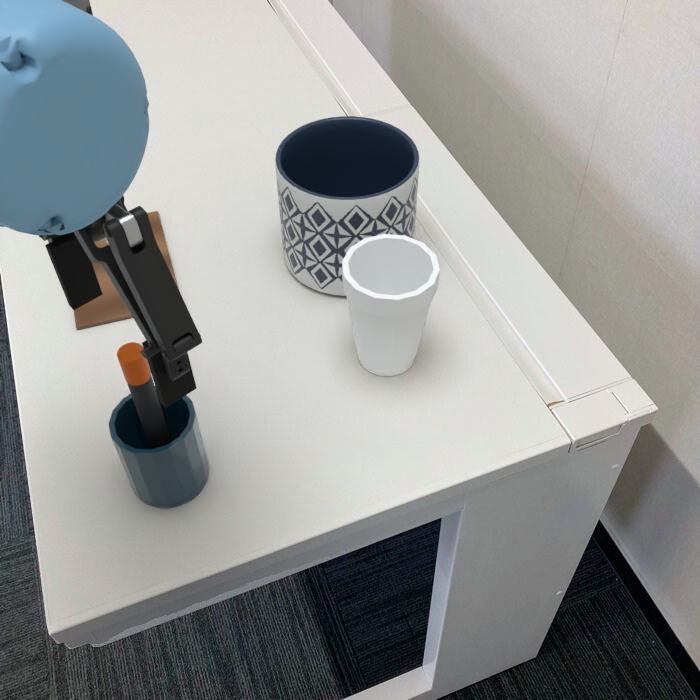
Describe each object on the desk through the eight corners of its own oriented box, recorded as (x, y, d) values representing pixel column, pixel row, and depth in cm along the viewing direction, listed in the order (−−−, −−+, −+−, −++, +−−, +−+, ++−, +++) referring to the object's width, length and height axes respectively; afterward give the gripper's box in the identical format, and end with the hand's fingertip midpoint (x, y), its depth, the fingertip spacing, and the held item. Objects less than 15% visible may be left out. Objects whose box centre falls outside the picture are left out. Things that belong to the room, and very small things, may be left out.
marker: (165, 483, 73) (125, 366, 60) (153, 469, 74) (111, 351, 61) (184, 470, 73) (148, 352, 61) (172, 456, 75) (134, 337, 62)
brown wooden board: (182, 306, 89) (182, 303, 89) (77, 330, 87) (75, 327, 87) (158, 213, 101) (157, 210, 100) (64, 232, 98) (63, 229, 98)
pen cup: (159, 523, 71) (138, 469, 64) (117, 472, 74) (93, 416, 68) (224, 476, 74) (211, 420, 67) (181, 430, 78) (164, 372, 71)
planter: (413, 216, 100) (420, 117, 89) (412, 302, 90) (419, 202, 79) (291, 211, 101) (283, 113, 90) (276, 296, 90) (265, 197, 80)
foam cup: (411, 315, 88) (418, 226, 78) (443, 374, 82) (455, 285, 73) (332, 335, 86) (329, 246, 76) (359, 396, 80) (359, 308, 71)
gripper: (228, 167, 40) (266, 412, 56) (10, 8, 52) (91, 246, 68) (101, 231, 37) (179, 472, 53) (-101, 45, 49) (12, 286, 65)
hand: (129, 345), depth 60 cm, fingers open, 13 cm apart
